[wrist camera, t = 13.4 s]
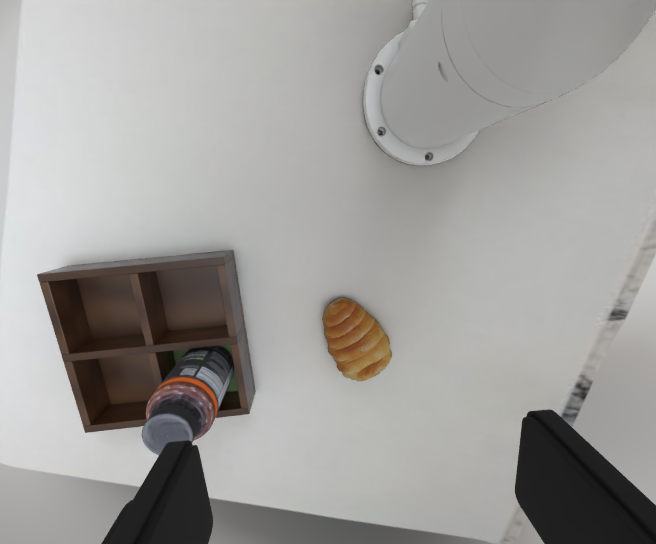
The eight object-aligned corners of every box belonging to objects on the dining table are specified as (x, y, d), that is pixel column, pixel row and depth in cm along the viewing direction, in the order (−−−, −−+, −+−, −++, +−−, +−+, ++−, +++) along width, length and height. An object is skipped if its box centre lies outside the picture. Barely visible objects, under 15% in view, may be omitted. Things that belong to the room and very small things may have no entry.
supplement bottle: (199, 396, 37) (152, 479, 26) (172, 354, 35) (110, 423, 24) (245, 375, 37) (217, 450, 26) (219, 332, 35) (179, 392, 24)
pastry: (307, 313, 36) (307, 325, 32) (358, 284, 36) (364, 294, 32) (345, 376, 38) (350, 394, 35) (394, 349, 38) (404, 365, 34)
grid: (69, 265, 33) (36, 274, 29) (233, 250, 34) (223, 256, 30) (108, 408, 37) (84, 432, 33) (255, 391, 38) (249, 414, 34)
